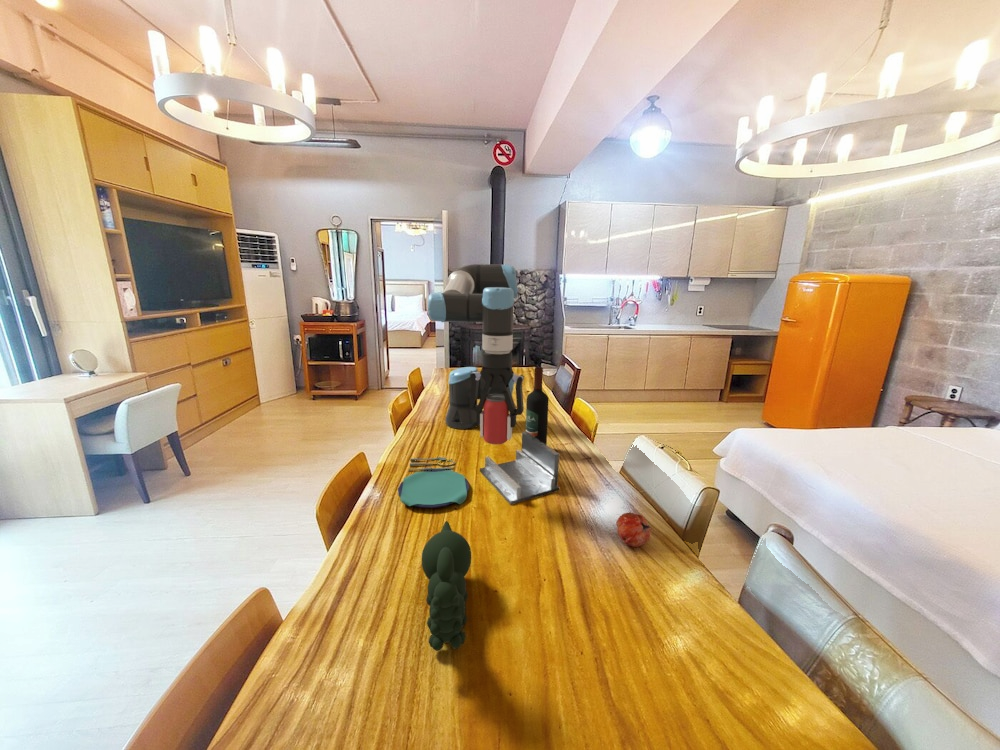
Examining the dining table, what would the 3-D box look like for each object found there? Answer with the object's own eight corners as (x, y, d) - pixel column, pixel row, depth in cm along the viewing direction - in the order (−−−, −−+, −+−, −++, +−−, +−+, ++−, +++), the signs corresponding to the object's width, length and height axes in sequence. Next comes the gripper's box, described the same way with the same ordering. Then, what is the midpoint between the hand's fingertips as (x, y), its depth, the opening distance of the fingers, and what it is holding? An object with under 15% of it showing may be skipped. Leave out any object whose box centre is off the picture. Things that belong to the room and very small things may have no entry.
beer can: (493, 447, 94) (493, 402, 91) (478, 438, 99) (478, 396, 96) (513, 441, 98) (514, 398, 94) (498, 432, 103) (498, 391, 99)
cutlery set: (393, 515, 94) (393, 507, 93) (404, 462, 123) (404, 455, 122) (472, 510, 97) (472, 502, 96) (464, 459, 126) (464, 453, 125)
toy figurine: (478, 674, 58) (468, 550, 81) (479, 582, 52) (469, 476, 75) (416, 682, 56) (425, 554, 80) (410, 588, 50) (421, 479, 74)
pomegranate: (609, 550, 86) (639, 549, 78) (601, 516, 89) (629, 512, 81) (634, 544, 89) (665, 543, 81) (625, 512, 92) (654, 508, 84)
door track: (479, 471, 116) (479, 438, 114) (523, 461, 123) (524, 430, 121) (510, 504, 99) (511, 467, 96) (559, 490, 106) (561, 455, 104)
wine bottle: (547, 455, 128) (551, 370, 121) (525, 455, 128) (528, 370, 121) (544, 446, 135) (548, 365, 128) (524, 446, 135) (526, 365, 128)
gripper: (455, 351, 91) (456, 438, 97) (533, 356, 86) (530, 447, 92) (464, 346, 98) (465, 427, 104) (538, 350, 93) (534, 435, 99)
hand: (495, 436), depth 98 cm, fingers closed on beer can, 7 cm apart
